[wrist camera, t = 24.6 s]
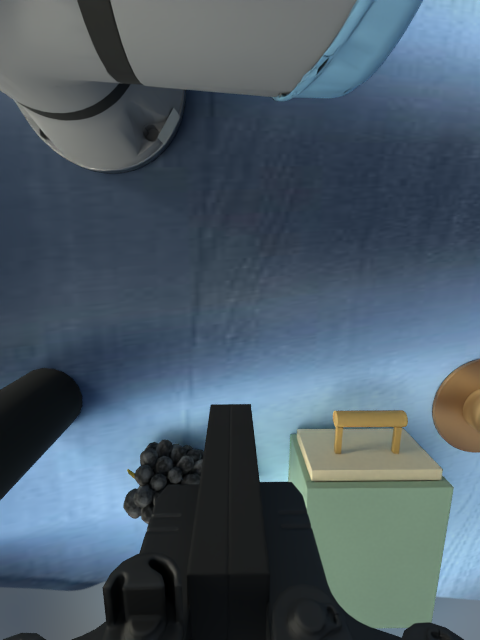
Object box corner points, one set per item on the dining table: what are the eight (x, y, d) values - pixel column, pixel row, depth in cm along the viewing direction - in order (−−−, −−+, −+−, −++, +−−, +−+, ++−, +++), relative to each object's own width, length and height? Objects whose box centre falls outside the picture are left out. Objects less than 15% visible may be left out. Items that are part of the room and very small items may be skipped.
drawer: (298, 392, 37) (314, 426, 30) (408, 391, 38) (449, 425, 30) (291, 540, 42) (304, 601, 34) (389, 539, 42) (422, 599, 35)
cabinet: (290, 433, 39) (307, 488, 30) (403, 433, 40) (454, 487, 31) (285, 549, 43) (299, 630, 34) (389, 548, 43) (430, 627, 34)
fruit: (273, 517, 31) (112, 496, 30) (253, 559, 35) (112, 541, 34) (268, 442, 39) (139, 422, 37) (252, 483, 43) (136, 467, 41)
